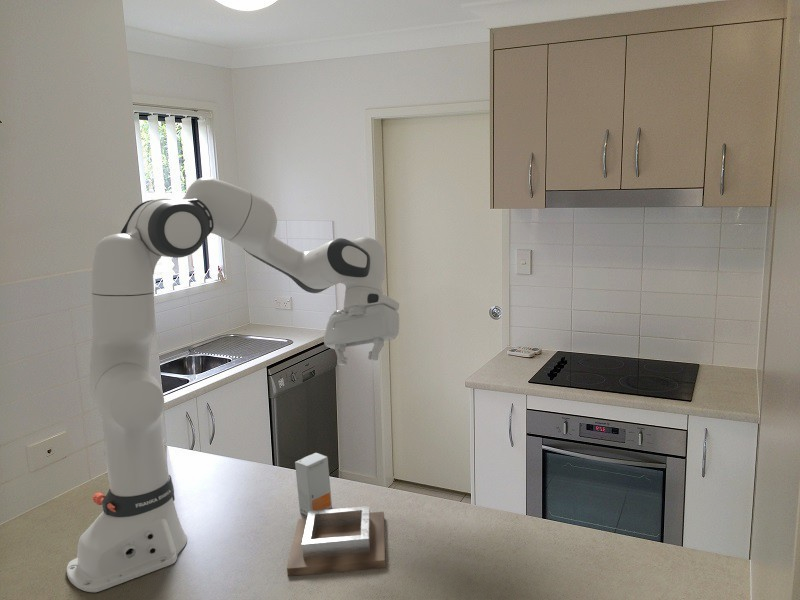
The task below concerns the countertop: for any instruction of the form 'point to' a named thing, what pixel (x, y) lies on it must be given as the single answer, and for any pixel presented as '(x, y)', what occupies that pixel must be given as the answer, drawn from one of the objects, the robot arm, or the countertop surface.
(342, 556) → the socket board
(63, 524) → the countertop surface
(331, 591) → the countertop surface
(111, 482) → the robot arm
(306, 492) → the skincare box
